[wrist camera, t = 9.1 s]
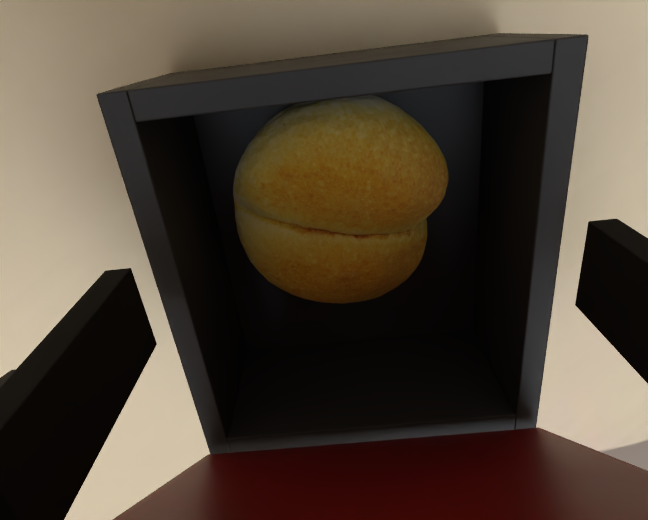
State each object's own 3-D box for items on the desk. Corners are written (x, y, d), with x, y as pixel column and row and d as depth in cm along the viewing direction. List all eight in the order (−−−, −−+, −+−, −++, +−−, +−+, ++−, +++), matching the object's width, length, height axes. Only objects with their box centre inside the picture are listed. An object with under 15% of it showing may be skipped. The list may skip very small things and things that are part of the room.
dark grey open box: (168, 73, 19) (95, 93, 13) (500, 33, 19) (589, 34, 12) (237, 353, 26) (210, 455, 20) (483, 331, 25) (536, 429, 19)
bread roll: (466, 100, 17) (492, 150, 14) (403, 278, 23) (411, 341, 19) (241, 63, 16) (216, 106, 13) (236, 254, 22) (217, 316, 19)
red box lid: (-346, 828, 4) (-369, 945, 4) (1364, 752, 3) (1425, 886, 3) (207, 454, 19) (208, 474, 19) (539, 427, 19) (542, 448, 18)
